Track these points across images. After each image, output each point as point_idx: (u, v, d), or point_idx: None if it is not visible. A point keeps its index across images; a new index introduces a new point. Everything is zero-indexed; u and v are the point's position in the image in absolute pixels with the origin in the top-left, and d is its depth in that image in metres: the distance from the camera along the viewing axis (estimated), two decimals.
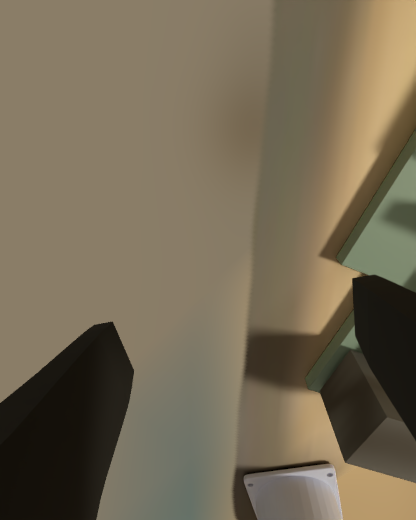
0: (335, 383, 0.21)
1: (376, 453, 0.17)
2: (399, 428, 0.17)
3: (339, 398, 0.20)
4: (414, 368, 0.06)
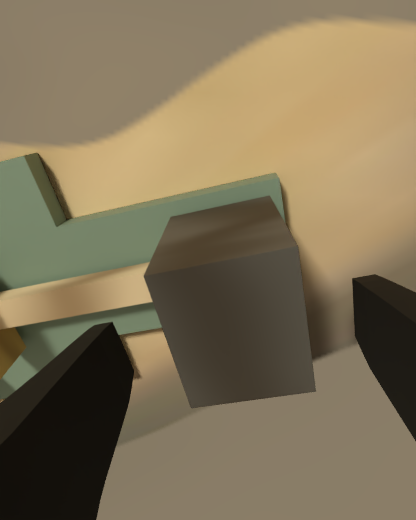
0: None
1: (266, 371, 0.10)
2: (197, 382, 0.10)
3: None
4: (414, 368, 0.06)
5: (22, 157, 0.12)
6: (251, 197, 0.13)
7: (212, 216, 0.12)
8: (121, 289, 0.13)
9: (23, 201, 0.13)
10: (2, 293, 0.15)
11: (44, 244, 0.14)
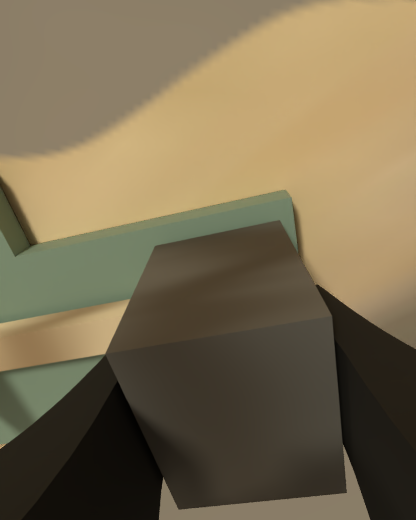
0: None
1: (280, 470, 0.07)
2: (186, 481, 0.07)
3: None
4: None
5: None
6: (256, 221, 0.10)
7: (206, 248, 0.09)
8: (94, 334, 0.11)
9: None
10: None
11: (1, 277, 0.11)
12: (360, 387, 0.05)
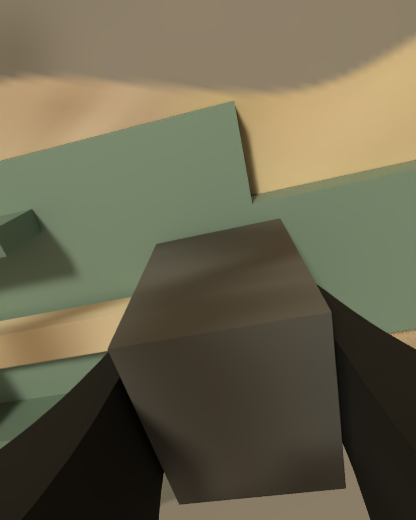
0: None
1: (280, 465, 0.07)
2: (186, 476, 0.07)
3: None
4: None
5: (231, 103, 0.09)
6: None
7: (207, 246, 0.09)
8: (96, 332, 0.11)
9: (216, 167, 0.10)
10: None
11: (229, 228, 0.10)
12: (360, 387, 0.05)
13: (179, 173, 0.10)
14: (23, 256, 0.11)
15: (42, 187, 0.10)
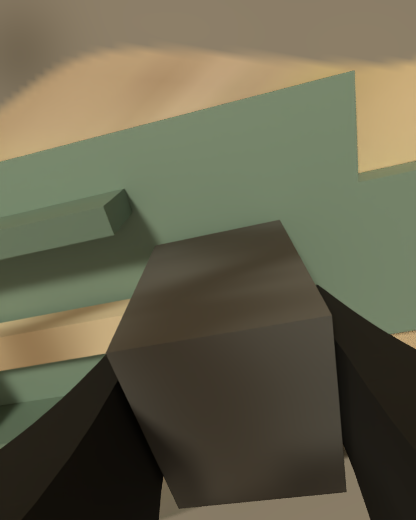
0: None
1: (280, 469, 0.07)
2: (186, 480, 0.07)
3: None
4: None
5: (352, 72, 0.08)
6: None
7: (206, 248, 0.09)
8: (95, 334, 0.11)
9: (325, 143, 0.09)
10: None
11: (330, 208, 0.10)
12: (360, 387, 0.05)
13: (285, 149, 0.09)
14: (108, 239, 0.11)
15: (138, 164, 0.10)
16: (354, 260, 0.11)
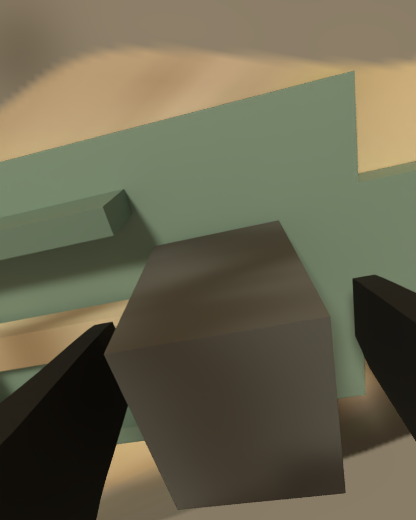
0: None
1: (279, 470, 0.07)
2: (184, 481, 0.07)
3: None
4: (414, 368, 0.06)
5: (351, 73, 0.08)
6: None
7: (206, 249, 0.09)
8: None
9: (325, 143, 0.09)
10: None
11: (330, 208, 0.10)
12: None
13: (285, 149, 0.09)
14: (108, 240, 0.11)
15: (138, 165, 0.10)
16: (354, 260, 0.11)
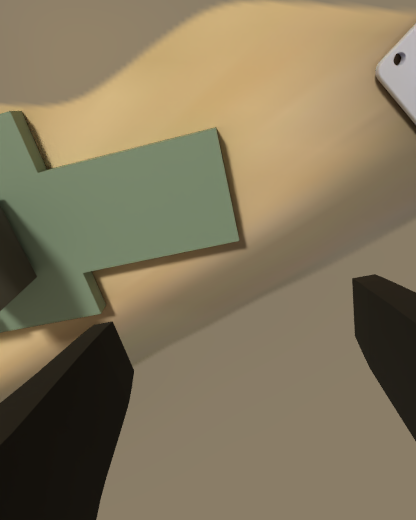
0: None
1: None
2: None
3: None
4: (414, 368, 0.06)
5: (8, 112, 0.15)
6: (195, 145, 0.16)
7: None
8: None
9: (10, 150, 0.16)
10: None
11: (28, 188, 0.17)
12: None
13: None
14: None
15: None
16: (55, 220, 0.18)
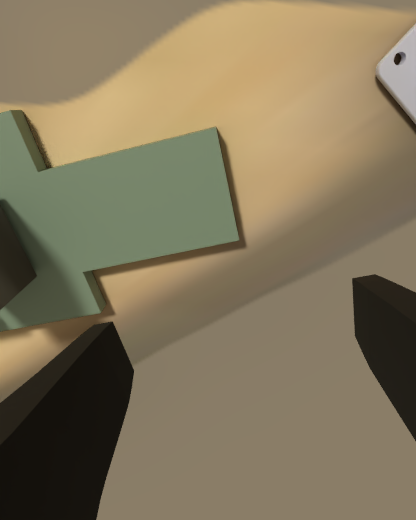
0: None
1: None
2: None
3: None
4: (414, 368, 0.06)
5: (9, 111, 0.15)
6: (195, 145, 0.16)
7: None
8: None
9: (10, 149, 0.16)
10: None
11: (28, 187, 0.17)
12: None
13: None
14: None
15: None
16: (55, 220, 0.18)
